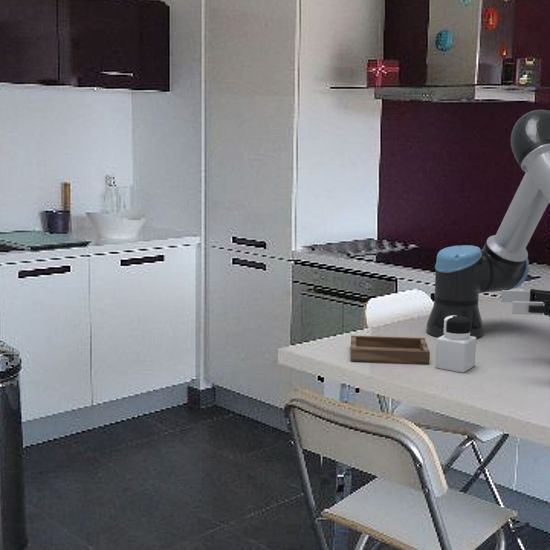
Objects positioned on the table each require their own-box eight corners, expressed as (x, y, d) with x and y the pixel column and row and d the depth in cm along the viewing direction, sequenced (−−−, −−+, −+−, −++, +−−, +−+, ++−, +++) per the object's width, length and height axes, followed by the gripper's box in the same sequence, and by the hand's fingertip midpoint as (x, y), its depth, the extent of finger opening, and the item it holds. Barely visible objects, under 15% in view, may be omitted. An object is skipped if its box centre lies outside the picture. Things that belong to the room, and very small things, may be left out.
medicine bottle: (475, 366, 199) (478, 316, 196) (463, 373, 193) (466, 322, 191) (446, 361, 202) (449, 312, 200) (434, 367, 197) (436, 317, 195)
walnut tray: (350, 347, 214) (351, 335, 213) (424, 349, 212) (424, 337, 212) (351, 361, 201) (351, 349, 200) (429, 364, 199) (429, 352, 199)
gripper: (618, 332, 180) (516, 330, 182) (585, 308, 205) (496, 306, 206) (621, 297, 179) (518, 295, 181) (587, 278, 203) (497, 276, 205)
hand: (506, 301), depth 193 cm, fingers open, 13 cm apart
